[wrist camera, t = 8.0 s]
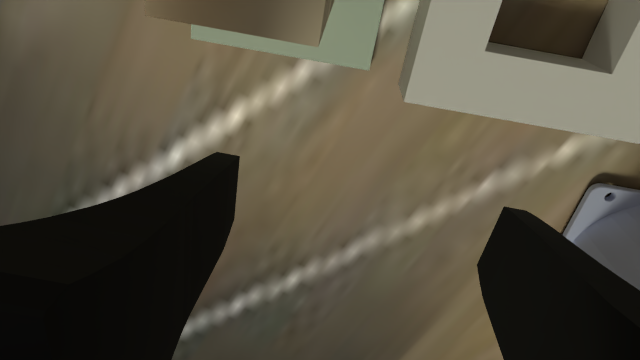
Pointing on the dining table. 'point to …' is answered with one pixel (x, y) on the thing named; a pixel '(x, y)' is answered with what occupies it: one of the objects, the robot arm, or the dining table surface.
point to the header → (526, 71)
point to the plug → (251, 16)
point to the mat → (336, 43)
